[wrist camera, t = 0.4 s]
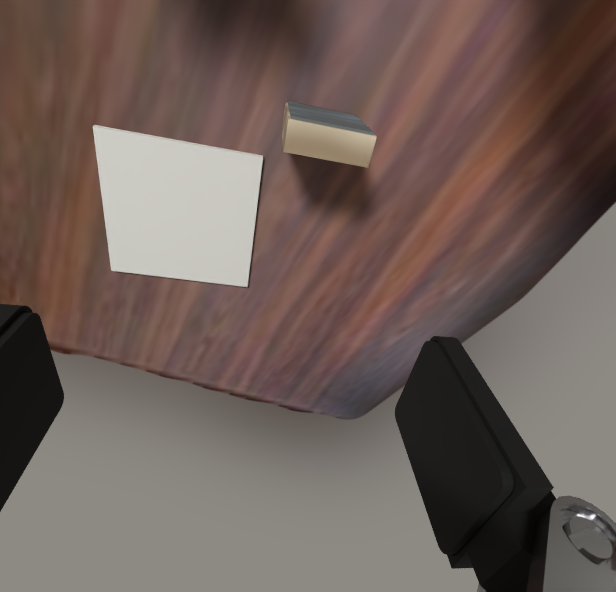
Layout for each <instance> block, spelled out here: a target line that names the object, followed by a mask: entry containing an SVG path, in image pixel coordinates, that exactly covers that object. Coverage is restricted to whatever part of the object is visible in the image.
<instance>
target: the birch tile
mask: <svg viewBox="0 0 616 592" xmlns="http://www.w3.org/2000/svg"><path fill="white" fill-rule="evenodd" d="M282 138H283V152H287V153H292V154H297V155H303V156H308V157H313V158H319V159H324V160H330V161H335V162H340V163H346V164H351V165H356V166H362V167H367V168H368V166H369V162H370V159H371V155H372V152H373V148H374V145H375V141H376V138H377V137H376V136H375V135H374V132H373V131H372V130H371V129H370V128H369V127H367V126H366V125H365V124H364V123H363V122H362V121H361V120H360V119H359V118H358V117H357V116H355V115H352V114H347V113H343V112H338V111H333V110H328V109H324V108H319V107H314V106H309V105H305V104H300V103H295V102H290V101H288V103H286V105H285V112H284V119H283V126H282Z"/></svg>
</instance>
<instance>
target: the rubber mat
mask: <svg viewBox="0 0 616 592" xmlns="http://www.w3.org/2000/svg"><path fill="white" fill-rule="evenodd" d="M93 132H94V139H95V147H96V155H97V163H98V170H99V178H100V186H101V194H102V202H103V209H104V217H105V225H106V233H107V240H108V248H109V256H110V264H111V271H118V272H127V273H135V274H143V275H151V276H160V277H168V278H176V279H185V280H193V281H201V282H209V283H218V284H226V285H234V286H243V287H247V286H248V278H249V270H250V262H251V253H252V245H253V237H254V229H255V220H256V212H257V204H258V195H259V187H260V179H261V171H262V162H263V156H262V155H257V154H251V153H246V152H240V151H235V150H229V149H224V148H218V147H213V146H207V145H202V144H197V143H191V142H186V141H180V140H175V139H169V138H164V137H158V136H153V135H147V134H142V133H136V132H131V131H126V130H120V129H115V128H109V127H104V126H98V125H94V126H93Z"/></svg>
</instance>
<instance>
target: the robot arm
mask: <svg viewBox="0 0 616 592" xmlns="http://www.w3.org/2000/svg"><path fill="white" fill-rule="evenodd" d="M63 400H64V393H63V389H62V386H61V383H60V379H59V376H58V373H57V370H56V367H55V364H54V360H53V357H52V354H51V351H50V347H49V344H48V341H47V338H46V334H45V331H44V328H43V325H42V322H41V318H40V316H39V315H38V314H37V313H33V312H32V310H31V309H30V308H29V307H27V306H20V305H7V304H0V511H1V509H2V508H3V506H4V504H5V503H6V501H7V499H8V498H9V496H10V494H11V492H12V491H13V489H14V487H15V486H16V484H17V482H18V480H19V479H20V477H21V475H22V474H23V472H24V470H25V468H26V467H27V465H28V463H29V462H30V460H31V458H32V456H33V455H34V453H35V451H36V450H37V448H38V446H39V445H40V443H41V441H42V440H43V438H44V436H45V434H46V433H47V431H48V429H49V427H50V426H51V424H52V422H53V421H54V419H55V417H56V416H57V414H58V412H59V411H60V409H61V407H62V404H63ZM395 417H396V421H397V424H398V427H399V430H400V433H401V436H402V439H403V442H404V445H405V448H406V451H407V454H408V457H409V460H410V463H411V466H412V469H413V472H414V475H415V478H416V481H417V484H418V487H419V490H420V493H421V496H422V499H423V502H424V505H425V508H426V511H427V513H428V517H429V519H430V523H431V525H432V528H433V531H434V534H435V537H436V540H437V543H438V546H439V548H440V550H441V551H442V552H443V553H444V554H447V556H448V559H449V562H450V565H451V568H474V571H475V573H476V576H477V578H478V581H479V585H478V589H477V592H616V523H615V522H613V520H612V519H611V518H609V516H607V515H606V514H605V513H604V512H603V511H601V510H600V509H598V508H597V507H596V506H594V505H593V504H591V503H589V502H586V501H585V500H582V499H580V498H576V497H572V496H562V497H559V498H558V499H556V498H555V496H554V495H553V493H552V492H551V490H552V489H553V488H554V487H553V486H552V484H551V483H550V481H549V480H548V478H547V477H546V475H545V474H544V472H543V470H542V469H541V467H540V466H539V464H538V463H537V461H536V460H535V458H534V456H533V455H532V453H531V452H530V450H529V449H528V447H527V446H526V444H525V443H524V441H523V439H522V438H521V436H520V435H519V433H518V432H517V430H516V429H515V427H514V425H513V424H512V422H511V421H510V419H509V418H508V416H507V415H506V413H505V411H504V410H503V408H502V407H501V405H500V404H499V402H498V401H497V399H496V398H495V396H494V394H493V393H492V391H491V390H490V388H489V387H488V385H487V383H486V382H485V380H484V379H483V377H482V376H481V374H480V373H479V371H478V370H477V368H476V367H475V365H474V363H473V362H472V360H471V359H470V357H469V355H468V354H467V352H466V351H465V349H464V348H463V346H462V345H461V343H460V342H459V340H458V339H456V338H453V337H440V336H434V337H432V338H431V339H430V341H426V342H425V343H424V345H423V347H422V349H421V351H420V354H419V356H418V358H417V360H416V362H415V365H414V367H413V369H412V371H411V374H410V376H409V378H408V380H407V383H406V385H405V387H404V389H403V392H402V394H401V396H400V398H399V401H398V403H397V405H396V408H395Z"/></svg>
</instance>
